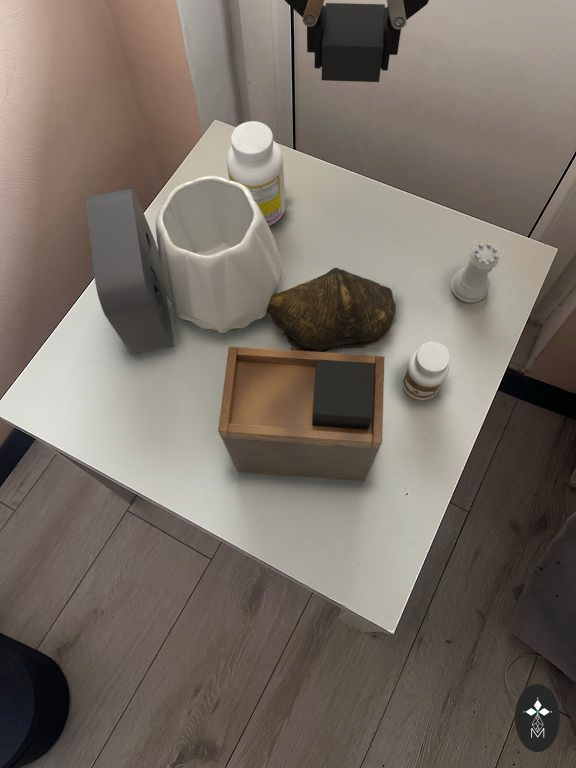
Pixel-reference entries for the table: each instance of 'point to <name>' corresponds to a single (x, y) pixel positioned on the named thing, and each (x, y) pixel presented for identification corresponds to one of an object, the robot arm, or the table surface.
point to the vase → (216, 254)
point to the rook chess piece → (475, 274)
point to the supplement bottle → (258, 167)
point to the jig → (292, 417)
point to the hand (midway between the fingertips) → (351, 56)
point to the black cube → (352, 42)
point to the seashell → (333, 312)
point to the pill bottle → (426, 371)
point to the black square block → (343, 394)
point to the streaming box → (128, 271)
